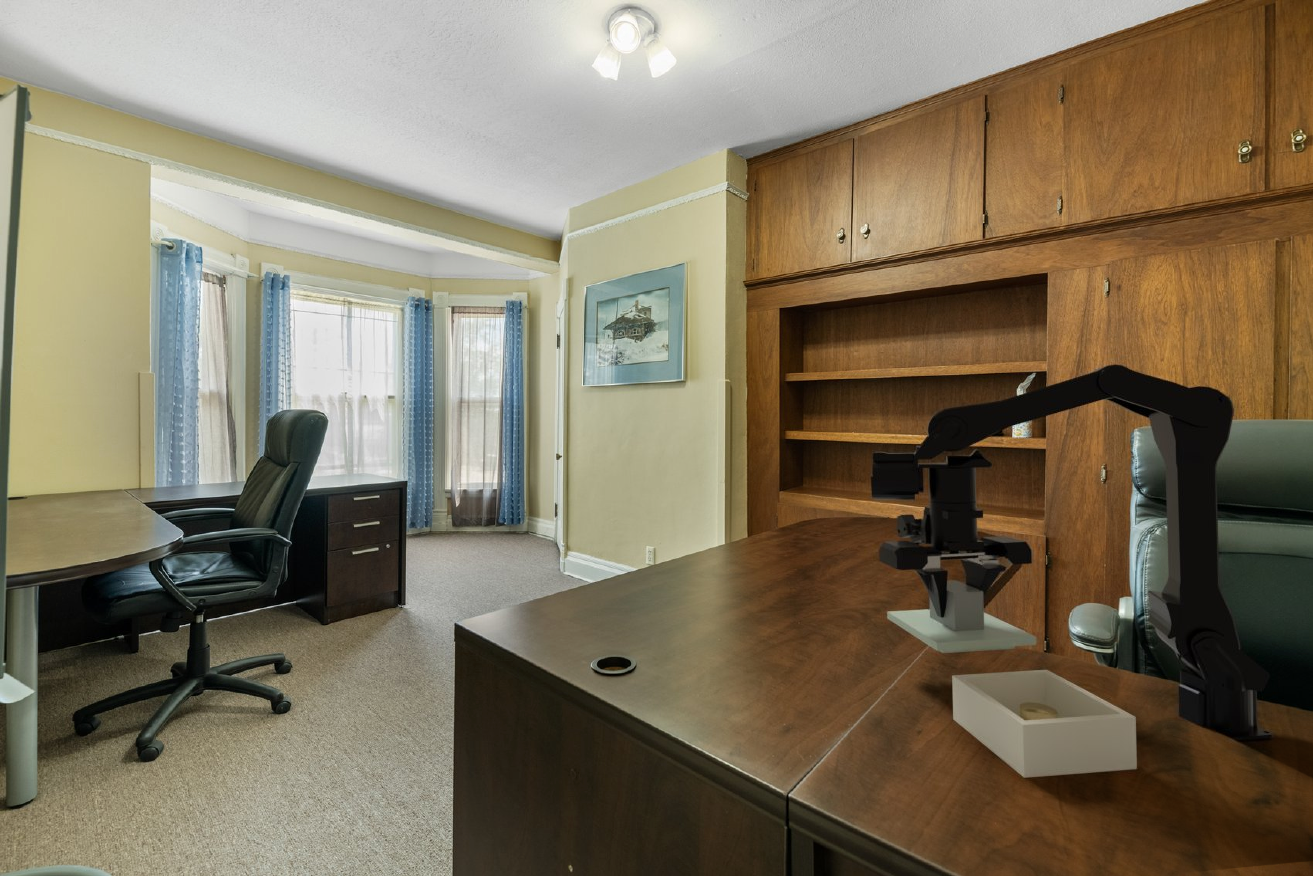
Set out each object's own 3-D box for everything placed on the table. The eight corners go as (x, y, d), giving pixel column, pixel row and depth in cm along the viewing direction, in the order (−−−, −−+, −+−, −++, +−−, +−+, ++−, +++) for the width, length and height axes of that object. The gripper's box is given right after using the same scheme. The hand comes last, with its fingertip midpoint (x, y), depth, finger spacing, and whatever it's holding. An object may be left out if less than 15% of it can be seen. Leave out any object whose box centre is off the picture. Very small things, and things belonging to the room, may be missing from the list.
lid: (972, 620, 86) (971, 573, 86) (1036, 652, 73) (1035, 597, 73) (887, 625, 85) (886, 577, 85) (937, 659, 72) (935, 602, 72)
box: (1047, 719, 71) (1046, 669, 71) (1136, 776, 59) (1135, 717, 59) (953, 725, 70) (952, 675, 70) (1024, 785, 58) (1023, 724, 58)
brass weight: (1042, 727, 67) (1041, 701, 67) (1066, 743, 64) (1066, 716, 64) (1012, 729, 67) (1012, 703, 67) (1035, 745, 64) (1034, 718, 64)
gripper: (980, 492, 88) (983, 596, 88) (860, 497, 87) (863, 602, 87) (1034, 500, 77) (1037, 619, 77) (897, 506, 75) (900, 627, 75)
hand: (955, 615), depth 79 cm, fingers closed on lid, 4 cm apart
